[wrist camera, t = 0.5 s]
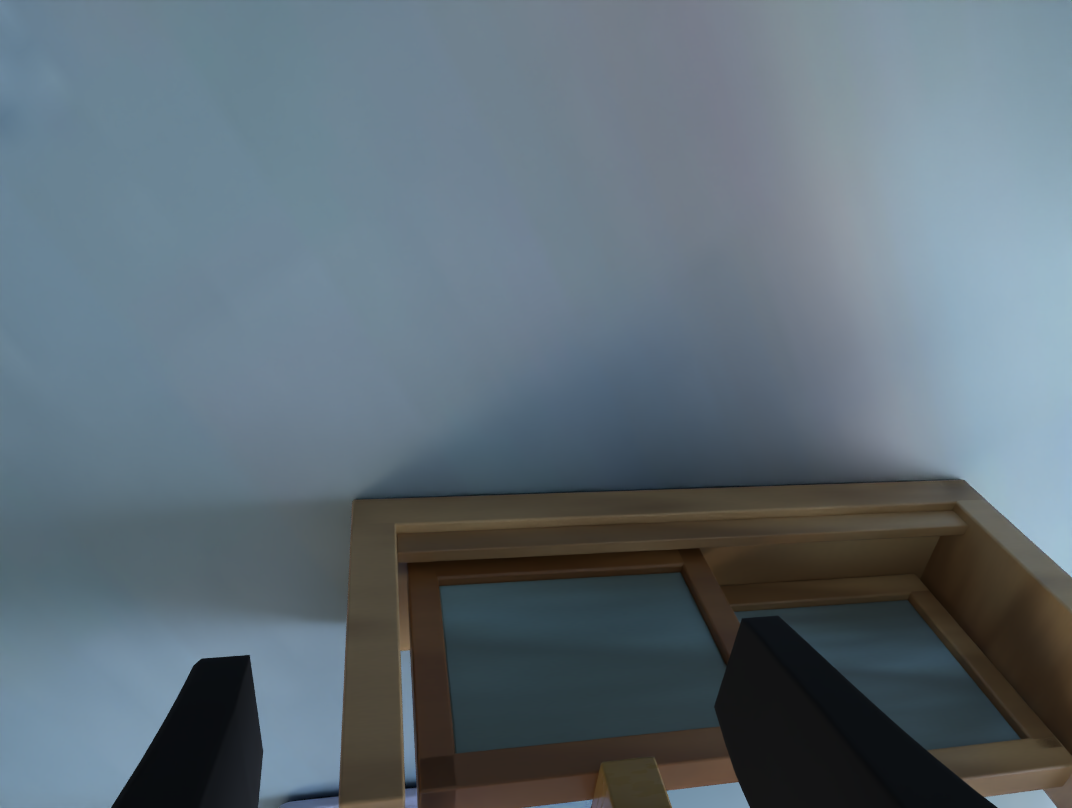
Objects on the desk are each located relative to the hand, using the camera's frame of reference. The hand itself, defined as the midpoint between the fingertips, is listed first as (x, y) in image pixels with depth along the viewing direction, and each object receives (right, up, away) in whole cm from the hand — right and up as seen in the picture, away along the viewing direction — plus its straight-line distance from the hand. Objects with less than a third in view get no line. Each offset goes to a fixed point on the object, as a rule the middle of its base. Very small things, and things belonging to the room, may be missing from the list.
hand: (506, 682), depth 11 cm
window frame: (+5, -1, +13) cm, 14 cm away
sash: (+1, -1, +11) cm, 11 cm away
